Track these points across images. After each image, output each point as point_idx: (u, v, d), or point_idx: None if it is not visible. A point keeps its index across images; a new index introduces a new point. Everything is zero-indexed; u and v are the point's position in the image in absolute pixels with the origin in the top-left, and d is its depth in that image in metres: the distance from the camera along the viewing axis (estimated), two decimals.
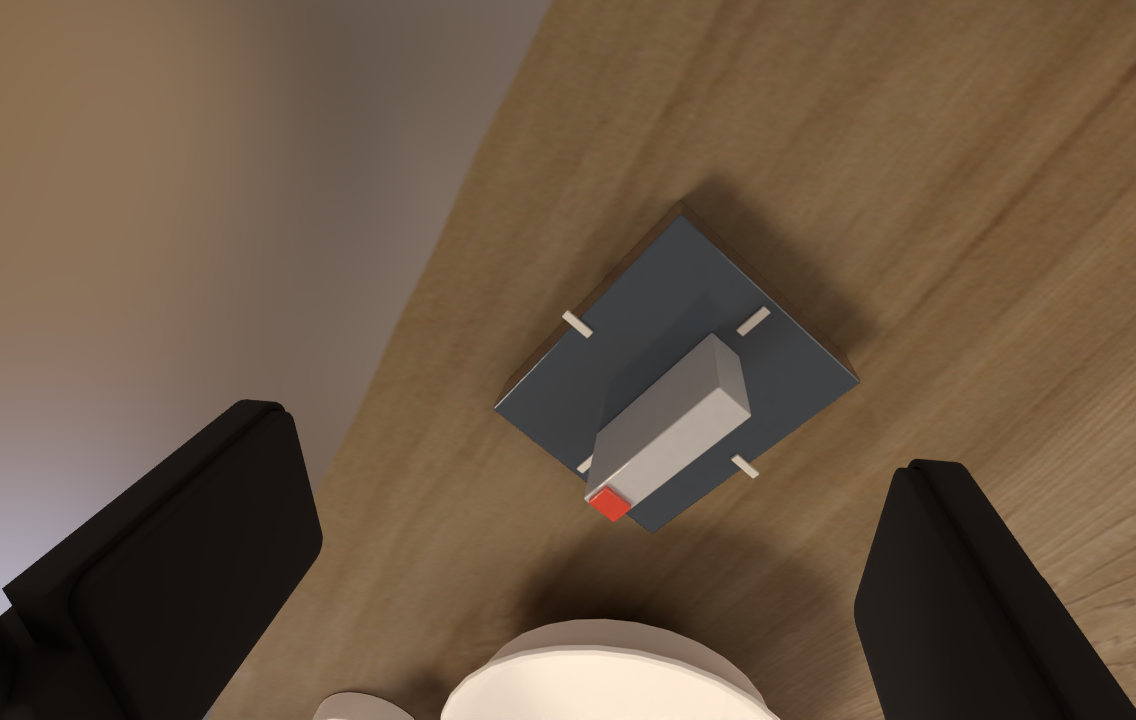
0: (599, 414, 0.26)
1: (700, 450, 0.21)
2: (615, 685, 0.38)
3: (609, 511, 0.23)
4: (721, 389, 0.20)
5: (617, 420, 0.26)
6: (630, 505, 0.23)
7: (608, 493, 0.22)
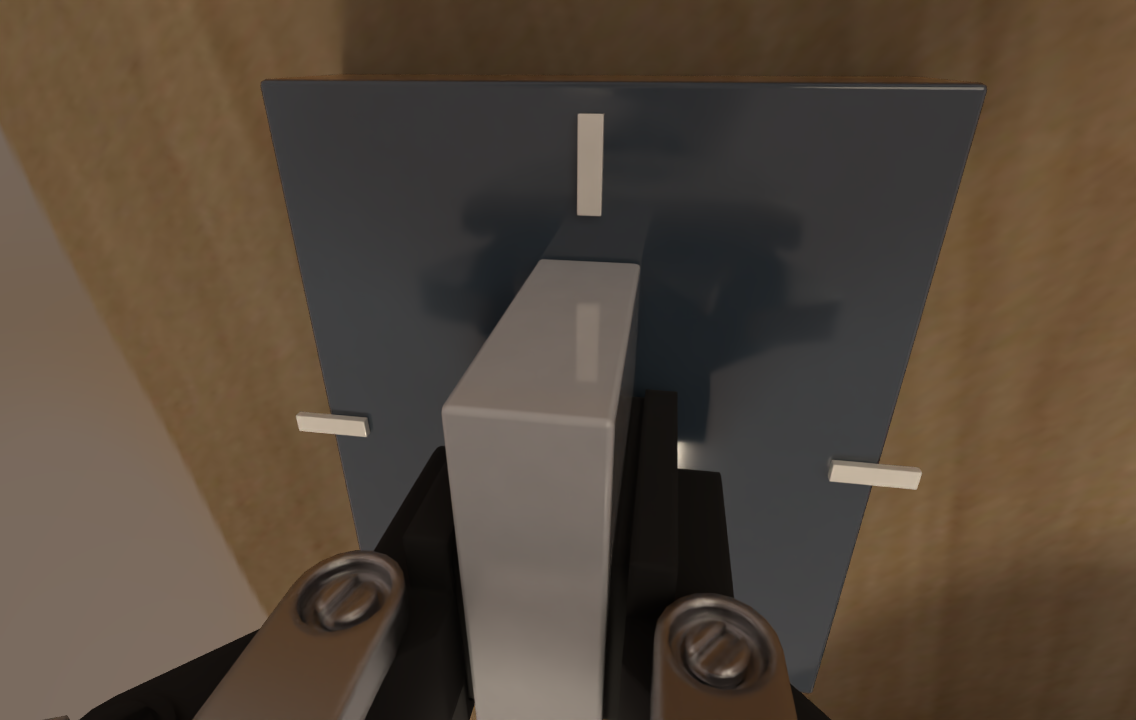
0: None
1: (589, 601, 0.06)
2: None
3: None
4: (452, 410, 0.05)
5: None
6: None
7: None
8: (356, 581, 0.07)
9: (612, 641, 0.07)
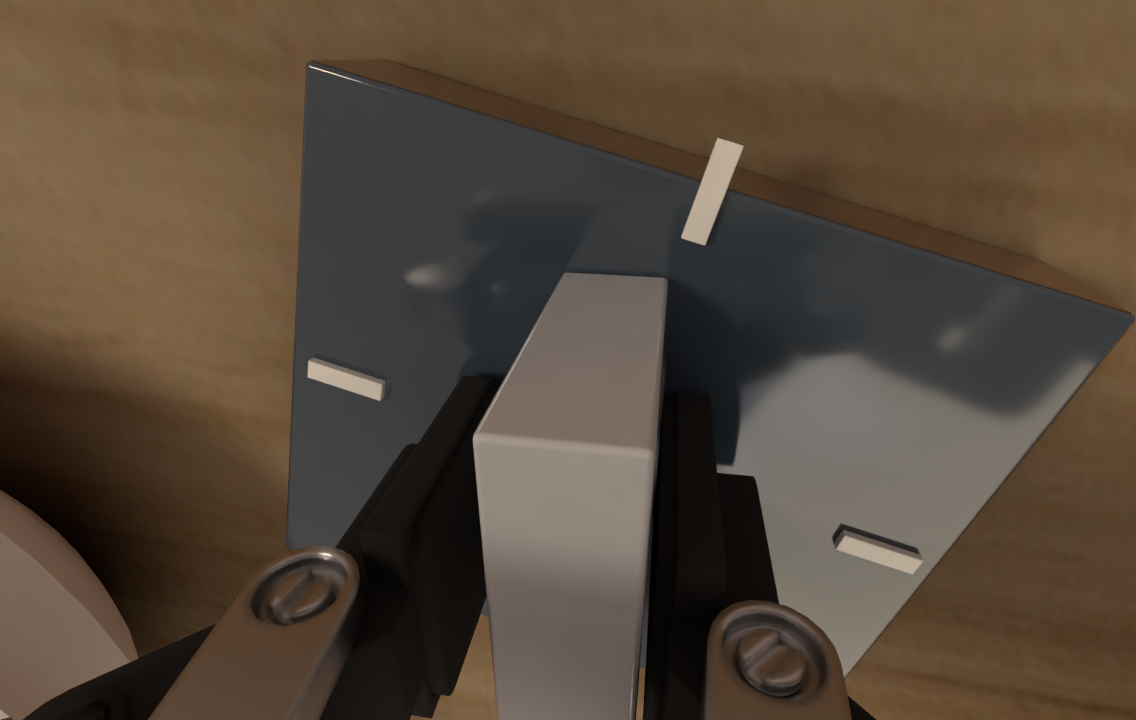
0: (481, 351, 0.10)
1: (623, 635, 0.06)
2: None
3: None
4: (485, 438, 0.05)
5: None
6: None
7: None
8: (310, 576, 0.07)
9: (655, 648, 0.07)
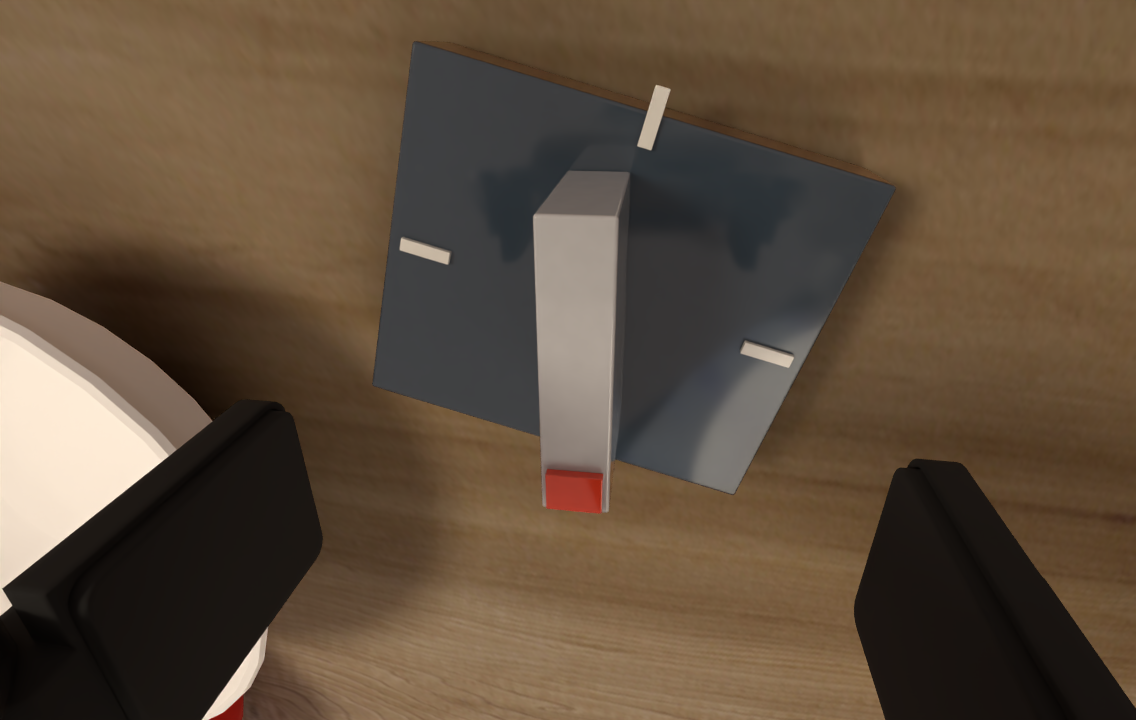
0: (514, 227, 0.16)
1: (606, 328, 0.12)
2: (92, 443, 0.24)
3: (581, 502, 0.14)
4: (539, 216, 0.11)
5: None
6: (603, 475, 0.14)
7: (554, 478, 0.13)
8: None
9: None
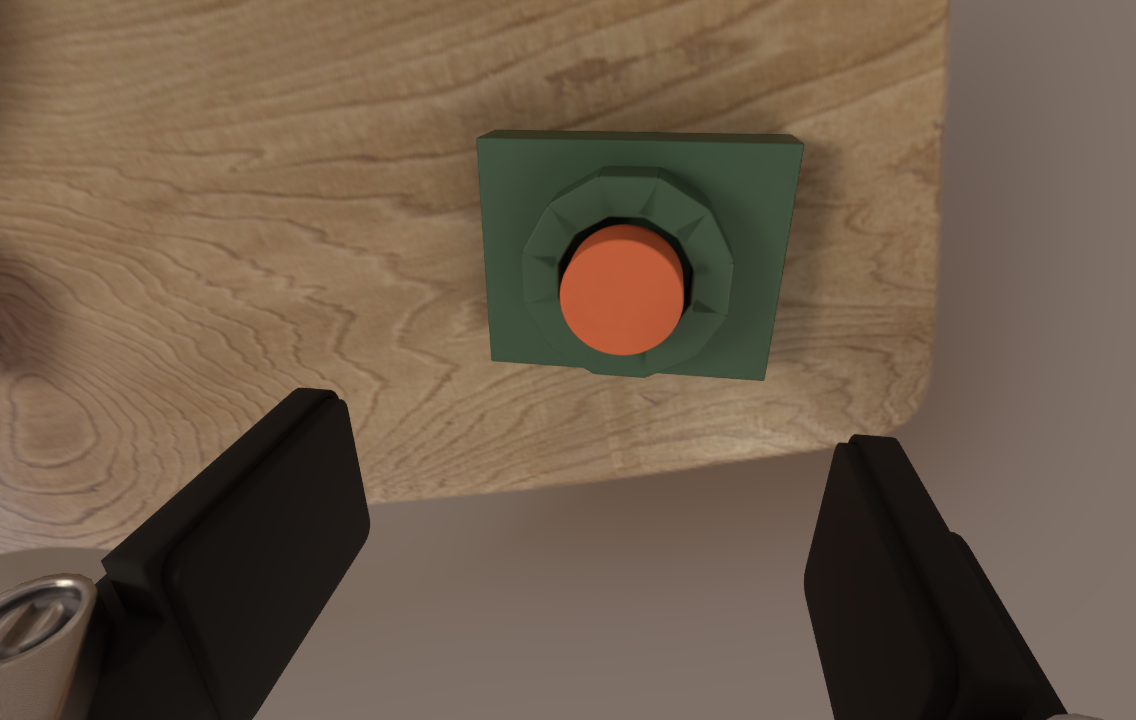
0: None
1: None
2: None
3: None
4: None
5: None
6: None
7: None
8: (33, 609, 0.06)
9: None
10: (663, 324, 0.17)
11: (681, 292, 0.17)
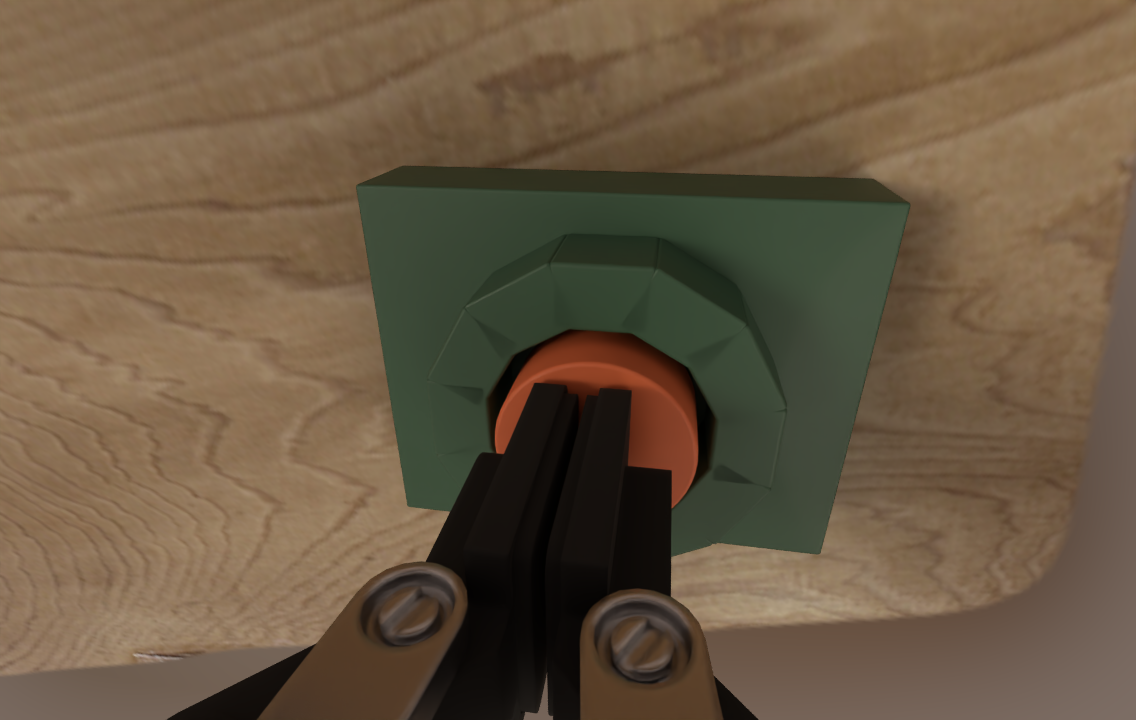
0: None
1: None
2: None
3: None
4: None
5: None
6: None
7: None
8: (419, 594, 0.06)
9: (551, 637, 0.07)
10: None
11: (694, 447, 0.10)
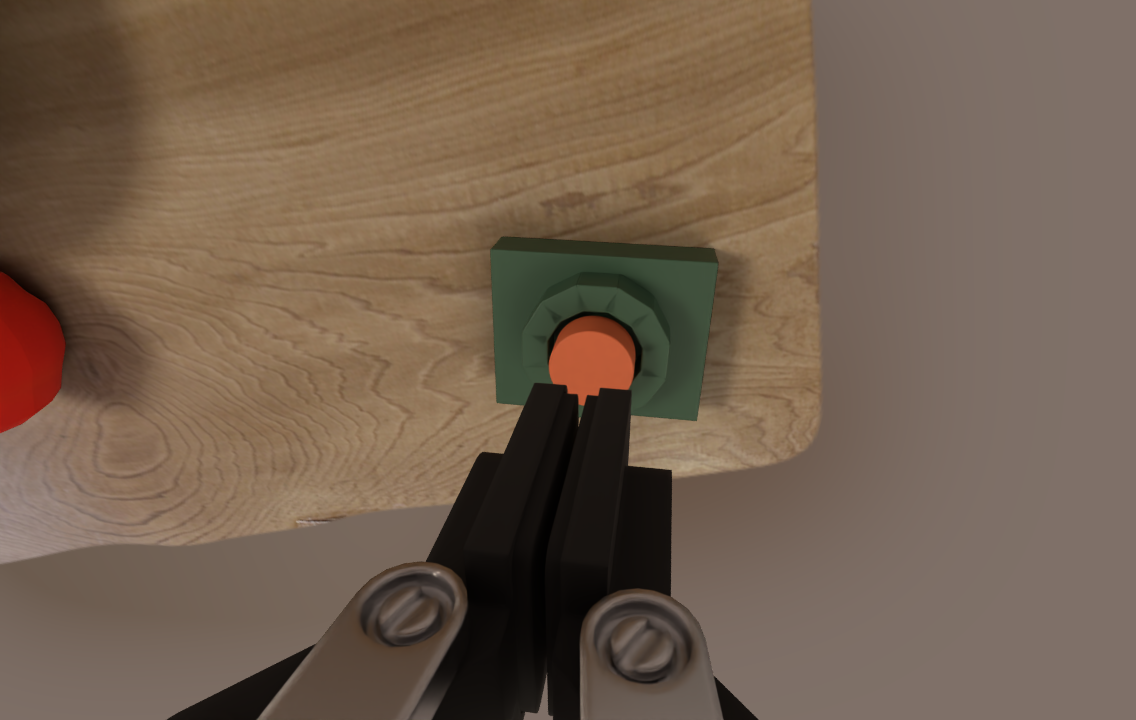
0: None
1: None
2: None
3: None
4: None
5: None
6: None
7: None
8: (419, 594, 0.06)
9: (551, 637, 0.07)
10: (620, 387, 0.25)
11: (632, 366, 0.25)
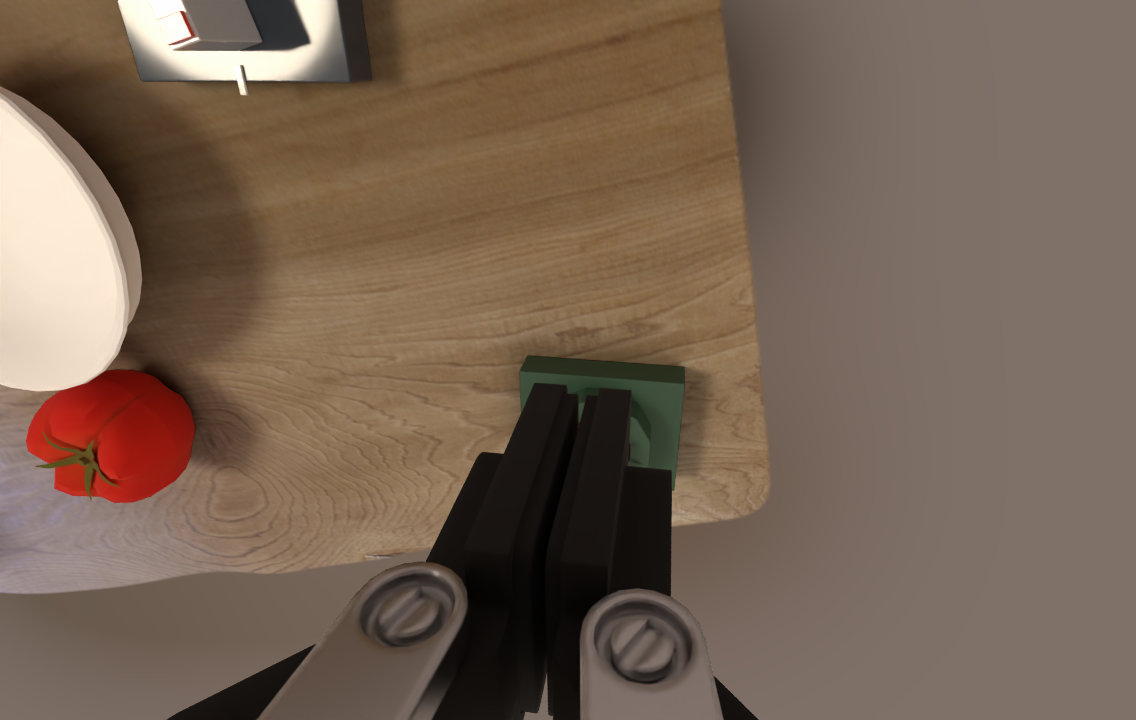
0: None
1: None
2: (41, 217, 0.39)
3: (179, 32, 0.26)
4: None
5: None
6: (183, 12, 0.26)
7: (160, 20, 0.26)
8: (419, 594, 0.06)
9: (551, 637, 0.07)
10: None
11: None
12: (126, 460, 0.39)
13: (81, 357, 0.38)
